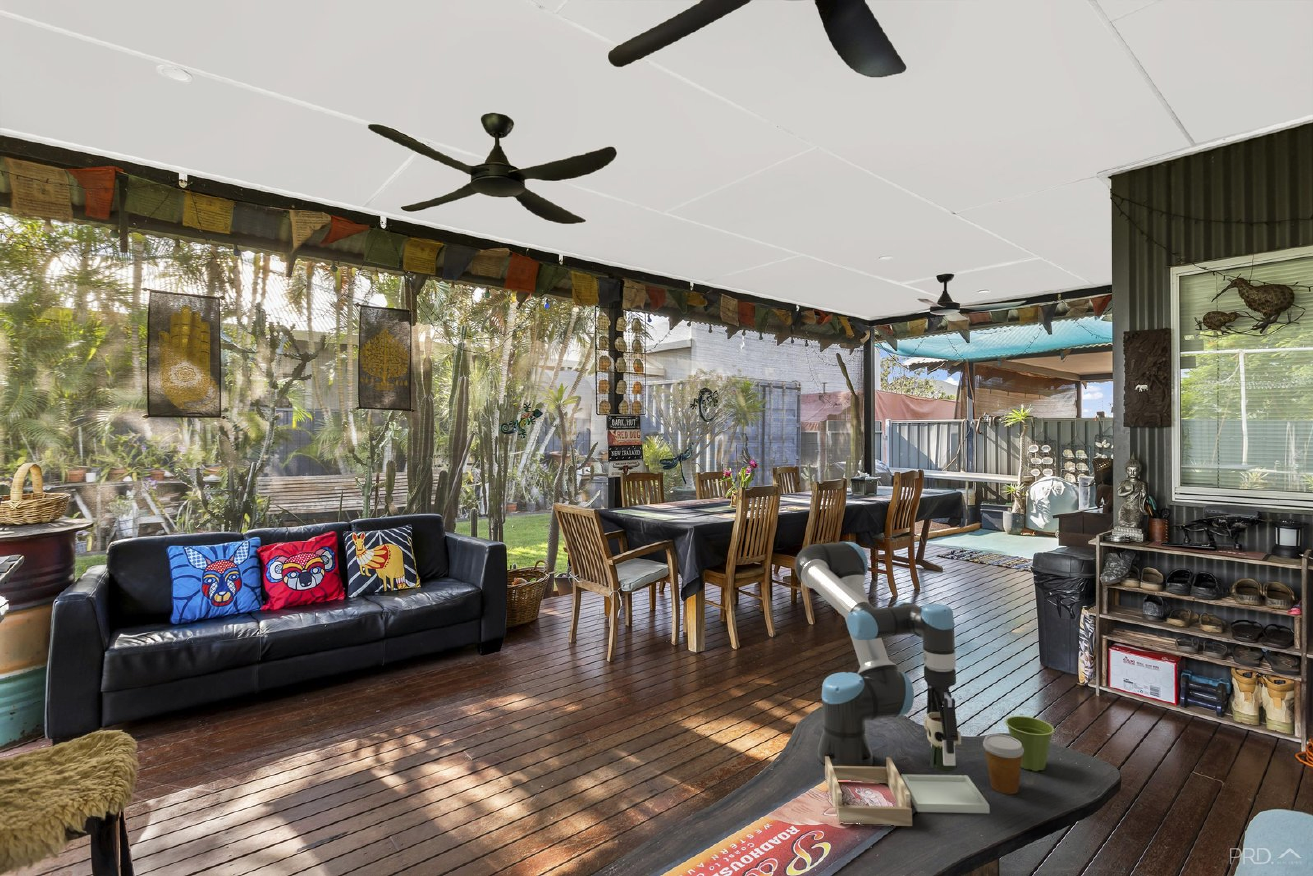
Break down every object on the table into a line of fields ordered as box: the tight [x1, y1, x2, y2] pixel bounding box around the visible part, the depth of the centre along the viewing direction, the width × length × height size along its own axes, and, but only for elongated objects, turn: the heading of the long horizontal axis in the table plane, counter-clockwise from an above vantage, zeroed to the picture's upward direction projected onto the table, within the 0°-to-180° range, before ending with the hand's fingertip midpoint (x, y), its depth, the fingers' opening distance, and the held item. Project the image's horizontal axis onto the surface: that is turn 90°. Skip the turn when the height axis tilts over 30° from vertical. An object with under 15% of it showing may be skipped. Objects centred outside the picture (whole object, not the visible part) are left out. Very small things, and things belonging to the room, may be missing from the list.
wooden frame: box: [824, 756, 913, 827], centre depth 166 cm, size 20×17×7 cm
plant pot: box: [1004, 715, 1055, 772], centre depth 182 cm, size 12×12×11 cm
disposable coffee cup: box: [982, 733, 1024, 795], centre depth 171 cm, size 10×10×12 cm
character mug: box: [923, 712, 962, 773], centre depth 167 cm, size 11×7×13 cm, turn 27°
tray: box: [900, 773, 990, 814], centre depth 167 cm, size 14×17×2 cm
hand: (942, 755), depth 167 cm, fingers closed on character mug, 9 cm apart
